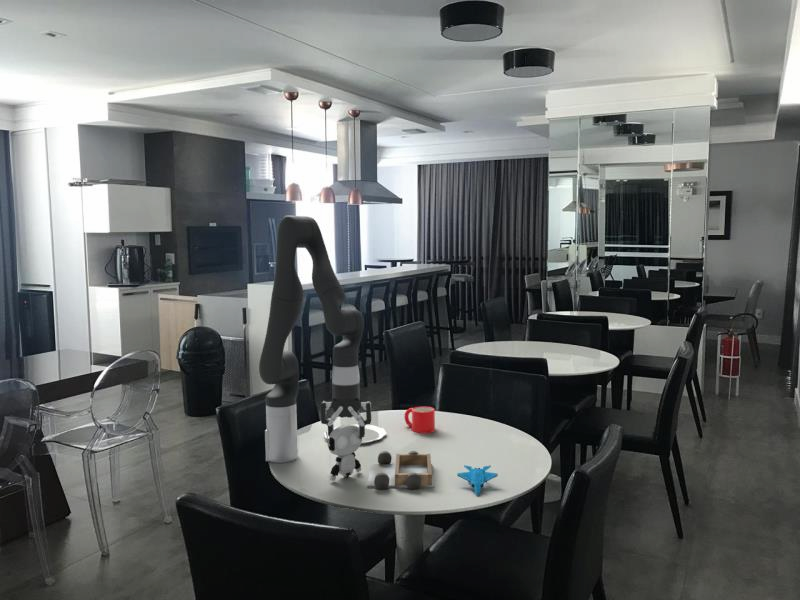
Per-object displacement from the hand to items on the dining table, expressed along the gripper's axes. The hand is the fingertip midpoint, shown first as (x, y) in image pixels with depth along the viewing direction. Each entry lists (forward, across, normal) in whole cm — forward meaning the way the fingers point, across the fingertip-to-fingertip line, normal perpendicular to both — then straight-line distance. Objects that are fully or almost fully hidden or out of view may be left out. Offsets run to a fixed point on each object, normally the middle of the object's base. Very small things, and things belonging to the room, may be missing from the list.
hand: (346, 438), depth 185 cm
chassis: (+11, +15, +1) cm, 19 cm away
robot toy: (+12, 0, 0) cm, 12 cm away
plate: (+12, -1, +38) cm, 40 cm away
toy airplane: (+11, +32, -6) cm, 34 cm away
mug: (+12, +20, +45) cm, 51 cm away
